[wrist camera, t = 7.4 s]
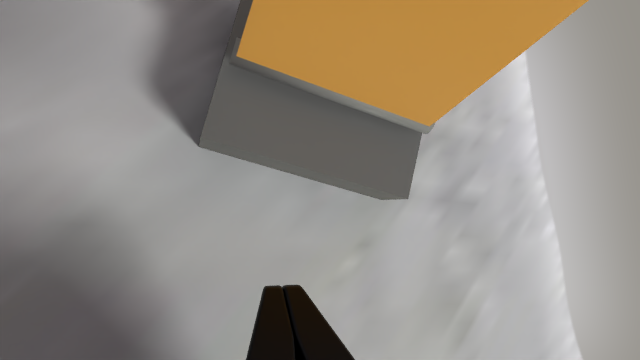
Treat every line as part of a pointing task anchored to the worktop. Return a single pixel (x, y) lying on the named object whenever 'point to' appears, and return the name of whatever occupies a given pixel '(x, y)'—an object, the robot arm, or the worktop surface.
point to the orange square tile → (392, 49)
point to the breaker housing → (306, 132)
